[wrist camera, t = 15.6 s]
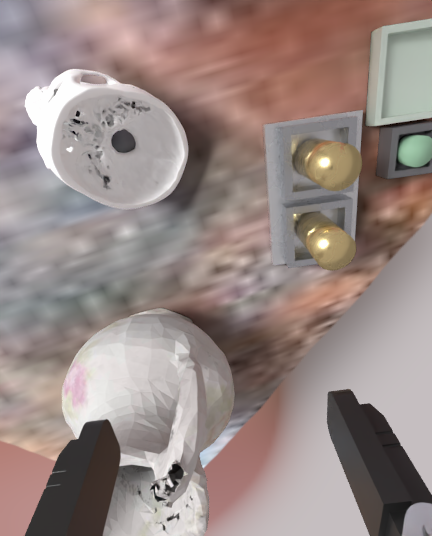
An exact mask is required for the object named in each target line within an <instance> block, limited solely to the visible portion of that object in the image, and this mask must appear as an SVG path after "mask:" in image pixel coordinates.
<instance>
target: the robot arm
mask: <svg viewBox="0 0 432 536" xmlns="http://www.w3.org/2000/svg"><path fill="white" fill-rule="evenodd" d="M327 424H328V429H329V433H330V436H331V439H332V442H333V444H334V447H335V449H336V451H337V454H338V457H339V459H340V462H341V464H342V467H343V469H344V472H345V474H346V477H347V479H348V482H349V484H350V487H351V489H352V492H353V494H354V497H355V499H356V502H357V504H358V507H359V509H360V512H361V515H362V517H363V519H364V522H365V525H366V527H367V529H368V532H369V535H370V536H432V495H431V493H430V492H429V490H428V488H427V487H426V485H425V483H424V482H423V480H422V479H421V477H420V475H419V473H418V472H417V470H416V469H415V467H414V465H413V464H412V462H411V460H410V459H409V457H408V455H407V454H406V452H405V450H404V449H403V447H402V446H401V445H400V442H399V440H398V439H397V437H396V435H395V434H394V433H393V431H392V429H391V427H390V426H389V424H388V422H387V421H386V419H385V417H384V416H383V415H382V414H381V413H380V412H379V411H378V410H377V409H375V408H374V407H373V406H372V405H371V404H361V405H360V404H359V403H358V401H357V399H356V397H355V395H354V394H353V392H352V391H351V390H350V389H346V390H339V391H331V392H328V408H327ZM120 459H121V450H120V445H119V443H118V440H117V438H116V435H115V433H114V430H113V428H112V426H111V423H110V421H109V420H108V419H104V420H97V421H89V422H86V423H85V424H84V426H83V428H82V430H81V433H80V436H79V438H78V439H76V440H71V441H70V442H69V443H68V444H67V446H66V447H65V448H64V450H63V451H62V452H61V453H60V455H59V457H58V459H57V461H56V464H55V466H54V468H53V471H52V475H50V478H49V480H48V483H47V485H46V489H45V490H44V492H43V494H42V496H41V499H40V501H39V503H38V506H37V508H36V511H35V513H34V515H33V517H32V520H31V522H30V524H29V527H28V529H27V532H26V534H25V536H103V532H104V527H105V523H106V519H107V515H108V511H109V507H110V503H111V498H112V494H113V490H114V486H115V482H116V478H117V474H118V469H119V465H120Z"/></svg>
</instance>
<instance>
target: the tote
mask: <svg viewBox="0 0 432 536" xmlns="http://www.w3.org/2000/svg"><path fill="white" fill-rule="evenodd" d="M426 118H432V19H426V20H420V21H413V22H407V23H401V24H394V25H388V26H382V27H380V28H378V29H376V30H374V31H372V32H371V45H370V60H369V75H368V91H367V106H366V121H365V126H379V125H386V124H392V123H399V122H406V121H413V120H419V119H426Z"/></svg>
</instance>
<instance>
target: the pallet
mask: <svg viewBox="0 0 432 536" xmlns="http://www.w3.org/2000/svg"><path fill="white" fill-rule="evenodd" d="M362 117H363V110H357V111H350V112H343V113H336V114H330V115H323V116H316V117H310V118H303V119H296V120H290V121H283V122H276V123H270V124H263V125H262V126H263V142H264V157H265V173H266V188H267V204H268V219H269V234H270V250H271V262H272V264H273V266H274V265H281V264H286V265H287V267H288V268H293V267H300V266H307V265H314V264H318V263H317V262H316V261H315V259H314V258H313V257H312V255H311V254H310V253H309V251H308V250H307V249H306V247H305V246H304V245H303V243H302V242H301V241H300V239H299V238H298V235H297V226H298V224H299V222H300V220H301V219H302V218H303V217H305V216H306V215H308V214H310V213H315V212H318V213H322V214H324V215H326V216H327V217H328V218H329V219H331V220H332V221H333V222H334V223H335V224H336V225H338V226H339V227H340V228H341V229H342V230H344V231H345V232H346V233H347V234H348V235H350V236H351V237H352V238H353V239H354V241H355V230H356V214H357V198H358V182H359V176H358V178H357V179H356V181H355V182H354V183H353V184H352V185H350V186H349V187H347V188H346V189H343V190H340V191H330V190H327V189H325V188H323V187H321V186H320V185H318V184H316V183H315V182H313V181H311V180H309V179H308V178H306V177H304V176H302V175H301V174H300V173H299V172H298V171H297V169H296V166H295V156H296V153H297V150H298V149H299V147H300V146H301V145H302V144H303V143H304V142H306V141H308V140H310V139H315V138H318V139H324V140H330V141H336V142H341V143H347V144H350V145H352V146H354V147H355V148H356V149H357V150H358V151H359V153H360V149H361V133H362Z"/></svg>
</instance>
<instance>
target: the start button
mask: <svg viewBox="0 0 432 536" xmlns="http://www.w3.org/2000/svg"><path fill="white" fill-rule="evenodd" d="M431 158H432V138H431V137H429V136H423V135H407V136H405V137H403V138H402V139H401V140H400V141H399V142H398V148H397V157H396V161H397V162H398V163H399V164H402V165H406V166H411V167H421V166H423V165H425V164H426V163H428V162H429V161H430V160H431Z"/></svg>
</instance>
